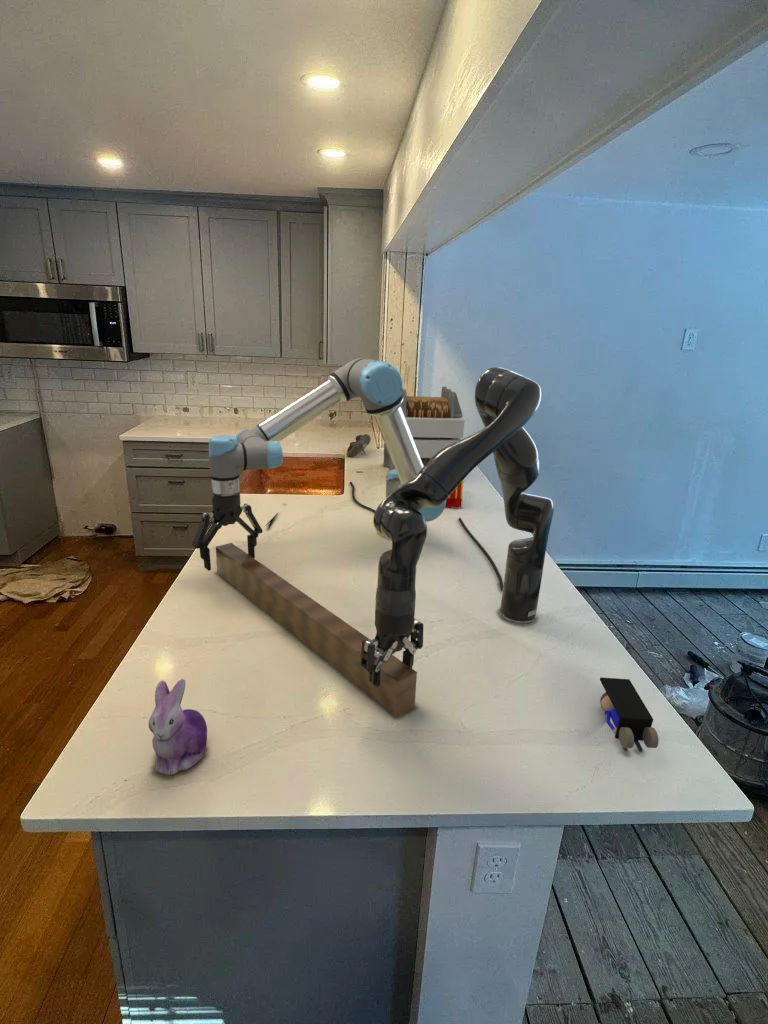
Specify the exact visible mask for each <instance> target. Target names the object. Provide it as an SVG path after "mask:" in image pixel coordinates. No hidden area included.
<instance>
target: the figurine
mask: <svg viewBox="0 0 768 1024" xmlns="http://www.w3.org/2000/svg"><path fill="white" fill-rule="evenodd" d="M186 683H187V682H186V680H185V679H184V678H180V679H179V680H177V682H176V683H175V684H174V686H173V687H172V689H171V690H170V689H169V685H168V684H167V682H166V681H165V680H162V679H161V680H160V681H159V682H158V683H157V684H156V688H155V691H154V704H155V706H154V708H153V710H152V712H151V715H150V717H149V720H148V729H149V730H150V732H151V733H152V734H153V737H152V740H151V741H152V748H153V750H154V752H155V755H156V763H155V770H156V771H157V772H158V773H161V774H163V775H164V774H165V775H169V776H171V775H175V774H177V773H178V772H180V771H186V770H188V769H190V768H192V767H193V766H195V765H196V764H197V763H198V762H200V760H202V759H203V758H204V757H205V755H206V752H207V741H208V725H207V722H206V719H205V718H204V716H203V714H202V713H201V712H199V711H198V710H196V709H192V708H187V709H183V708H182V705H181V704H182V700H183V697H184V694H185V690H186Z"/></svg>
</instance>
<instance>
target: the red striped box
mask: <svg viewBox="0 0 768 1024" xmlns="http://www.w3.org/2000/svg"><path fill="white" fill-rule="evenodd" d="M463 490H464V480H463V481H462V482H461V483H460V484H459V485H458V486H457V488H456V489H455V490H454V491H453V492H452V493H451V495H450V496H449V497H448V498H447V499H446V505H445V508H462V502H463V501H462V500H463Z"/></svg>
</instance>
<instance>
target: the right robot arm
mask: <svg viewBox="0 0 768 1024" xmlns="http://www.w3.org/2000/svg"><path fill="white" fill-rule="evenodd" d="M541 400H542V388H541V386H540V385H539V383H538V382H536V381H534V380H532V379H531V378H529V377H526V376H524V375H521V374H519V373H517V372H515V371H512V370H510V369H508V368H503V367H499V366H493V367H489V368H487V369H485V370H484V371H483V372H482V373H481V375H480V376H479V377H478V380H477V382H476V385H475V389H474V403H475V408H476V410H477V412H478V415H479V417H480V420H481V422H482V424H483V426H484V427H483V428H482V429H480V430H478V431H476V432H475V433H473V434H471V435H469V436H467V437H463V438H461V440H459V441H457V442H455V443H452V444H450V445H448V446H446V447H444V448H443V449H441V450H440V451H438V452H437V453H436V454H435V455H434V456H433V457H432V458H431V459H430V460H429V461H428V462H427V463H426V465H425V466H424V467H423V468H422V469H421V470H420V471H419V473H418V474H417V475H416V476H415V477H414V478H413V479H412V480H411V481H409V482H407V483H406V484H404V485H403V486H401V487H400V488H399V489H397V490H396V491H394V492H393V493H392V494H390V495H389V496H388V497H386V496H385V498H384V499H383V500H381V502H380V503H379V504H378V506H377V507H376V509H375V513H374V515H373V519H372V520H373V521H372V523H373V527H374V529H375V531H376V532H377V533H378V534H380V535H381V536H382V537H385V538H386V539H387V540H388V541H390V542H391V549H388V550H385V551H383V553H382V554H381V555H380V557H379V559H378V566H377V567H378V570H377V585H376V590H375V604H374V605H375V608H374V626H375V630H376V634H375V637H374V638H372V639H370V641H368V640H367V639H364V640H363V641H362V650H361V662H360V666H361V667H362V668H364V669H365V670H366V671H367V672H369V682H370V683H371V684H373V685H374V686H375V687H378V686H380V672H381V671H380V669H381V667H382V665H383V663H384V662H387V660H388V658H389V657H390V655H394V654H395V653H397V652H400V651H402V650H403V651H402V662H403V663H405V664H406V665H407V666H409V667H410V668H412V669H413V666H414V663H415V660H414V659H415V654H416V653H417V651H418V649H419V650H421V649H422V648H423V646H424V623H423V622H421V621H420V620H418V619H416V618H415V615H416V614H415V613H416V599H417V593H416V591H417V590H416V580H417V565H418V562H419V560H420V558H421V554H422V553H423V548H424V545H425V543H426V540H427V535H428V525H427V522H426V521H425V518H424V516H423V515H422V514H421V513H420V512H419V510H420V509H422V508H424V507H438V506H440V505H441V504H442V503H443V502H444V501H445V500H446V499H447V498H448V497H449V496H450V495H451V493H452V492H453V491H454V490H455V489H456V488H457V486H458V485H459V484H460V483H461V482H462V481H463V482H464V480H465V479H466V477H467V476H468V475H469V474H470V473H471V472H472V471H473V470H474V469H475V468H476V467H477V466H479V465H480V464H481V463H482V462H483V461H484V460H486V459H487V458H488V457H489V456H491V455H492V454H493V460H494V465H495V469H496V473H497V476H498V479H499V483H500V487H501V491H502V495H503V505H504V515H505V520H506V523H507V525H508V526H509V527H510V528H512V529H514V530H518V531H521V532H526V533H530V534H533V536H531V537H527V538H519V539H514V540H512V541H511V542H510V543H509V544H508V547H507V552H506V553H507V555H506V562H505V570H504V579H503V578H502V576H501V574H500V571H499V569H498V567H497V566H496V563H495V562H494V560H493V559H492V557H491V556H490V555H489V553H488V552H487V550H486V549H485V548H484V547H483V545H482V544H481V543H480V542H479V540H477V538H476V537H475V536H474V535H473V534H472V532H471V531H470V529H468V527H467V526H466V525H465V523H464V521H463V519H462V518H461V517H458V521H459V523H460V525H461V526H462V528H463V529H464V531H465V532H466V534H468V536H469V537H470V538H471V539H472V541H473V542H474V543H475V544H476V546H477V547H478V548H479V549H480V550H481V551H482V553H483V554H484V556H485V557H486V558H487V560H488V562H489V564H490V565H491V566H492V568H493V570H494V572H495V574H496V577H497V579H498V582H499V588H500V590H501V591H502V592H501V593H502V594H501V600H500V609H499V616H500V617H501V618H502V619H503V620H504V621H506V622H508V623H511V624H514V625H523V626H524V625H531V624H533V623H534V622H535V621H536V620H537V611H538V605H539V599H540V593H541V584H542V579H543V573H544V566H545V559H546V553H547V547H548V541H549V535H550V530H551V526H552V523H553V518H554V508H555V507H554V501H553V500H552V499H551V498H549V497H545V496H541V495H535V494H530V493H525V492H526V490H528V489H529V488H530V487H531V486H532V485H534V483H535V482H536V481H537V479H538V478H539V475H540V470H541V466H540V465H541V464H540V458H539V451H538V449H537V445H536V443H535V442H534V440H533V438H532V437H531V435H530V433H528V431H527V430H526V429H525V425H526V424H528V422H529V421H530V420H531V419H532V417H533V416H535V413H536V412H537V410H538V408H539V406H540V403H541ZM409 638H410V639H409ZM380 649H381V650H382V651H383V652H384V655H381V654H380V653H379V650H380ZM377 658H378V659H379V660H378V662H377V664H376V663H375V661H376V659H377Z"/></svg>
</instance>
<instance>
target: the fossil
mask: <svg viewBox="0 0 768 1024" xmlns="http://www.w3.org/2000/svg"><path fill="white" fill-rule="evenodd" d="M354 440H355V441H351V442H350V443H349V446H348V447H347V450H346V456H347V457H348V458H352V457H355V456H357V455H359V454H360V453H361V452H363V453H364V454H366V452H365V449H366V448H367V446H369V445H370V443H371V440H372V439H371V436H370V434H367V433H365V434H358V435H356V436H355V438H354Z"/></svg>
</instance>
